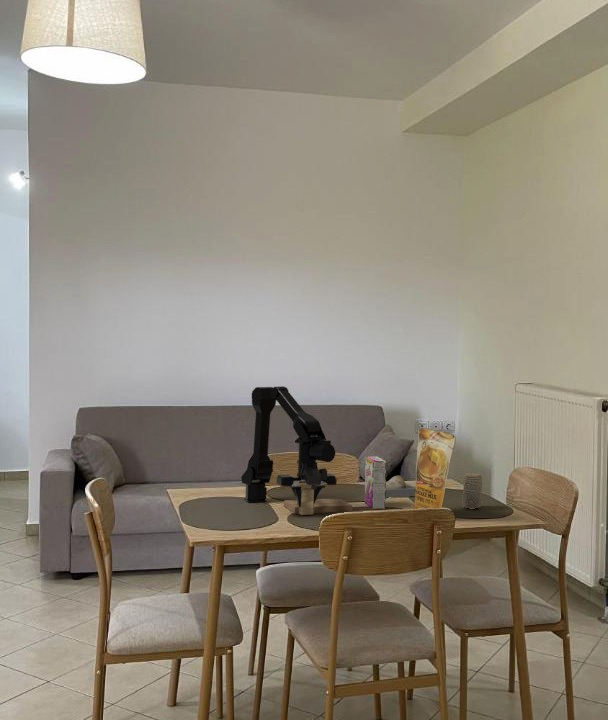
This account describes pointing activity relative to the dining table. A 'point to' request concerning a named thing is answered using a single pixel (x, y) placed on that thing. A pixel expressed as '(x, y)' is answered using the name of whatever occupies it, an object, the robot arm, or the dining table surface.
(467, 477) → the carving
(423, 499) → the pancake mix bag
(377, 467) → the candy bar box
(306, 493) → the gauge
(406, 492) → the mug coaster tray
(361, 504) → the dining table surface
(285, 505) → the board
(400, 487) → the beige rock
